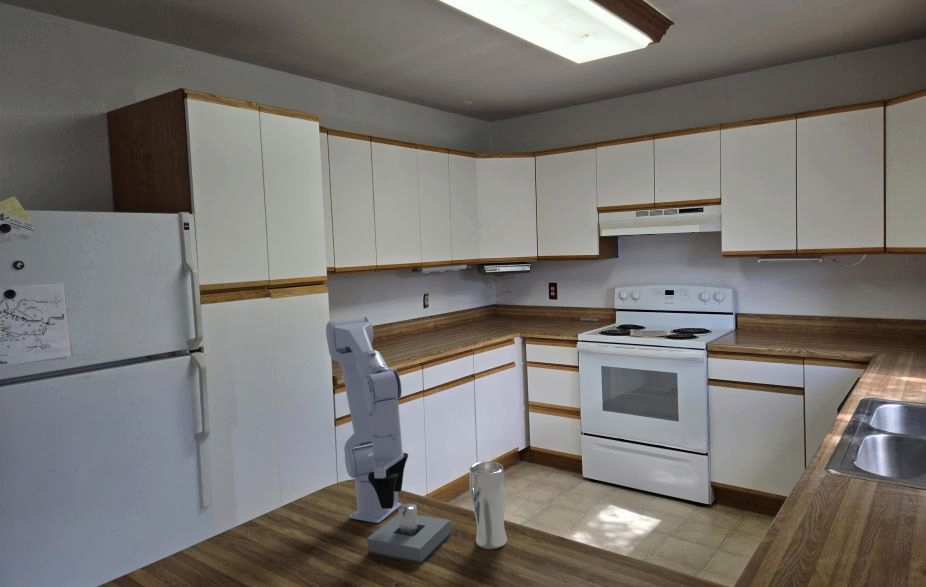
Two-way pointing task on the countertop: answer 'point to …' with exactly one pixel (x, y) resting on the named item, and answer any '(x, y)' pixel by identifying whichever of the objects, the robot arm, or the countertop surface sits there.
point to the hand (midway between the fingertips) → (391, 499)
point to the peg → (408, 519)
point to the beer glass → (488, 503)
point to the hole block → (409, 539)
